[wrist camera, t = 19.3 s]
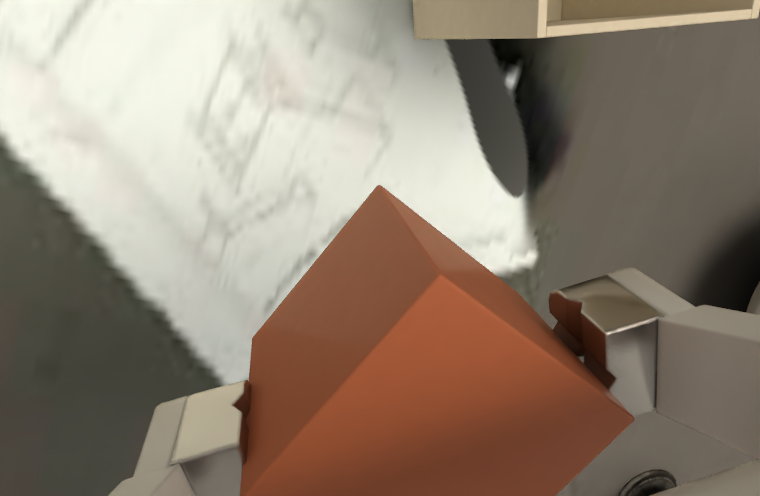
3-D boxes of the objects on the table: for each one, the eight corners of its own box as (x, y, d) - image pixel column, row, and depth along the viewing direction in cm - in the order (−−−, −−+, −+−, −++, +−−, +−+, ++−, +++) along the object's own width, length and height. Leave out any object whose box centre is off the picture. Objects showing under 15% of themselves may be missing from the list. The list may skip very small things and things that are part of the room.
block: (251, 338, 10) (237, 503, 7) (378, 183, 10) (441, 274, 6) (399, 422, 12) (454, 594, 8) (518, 293, 11) (636, 419, 7)
